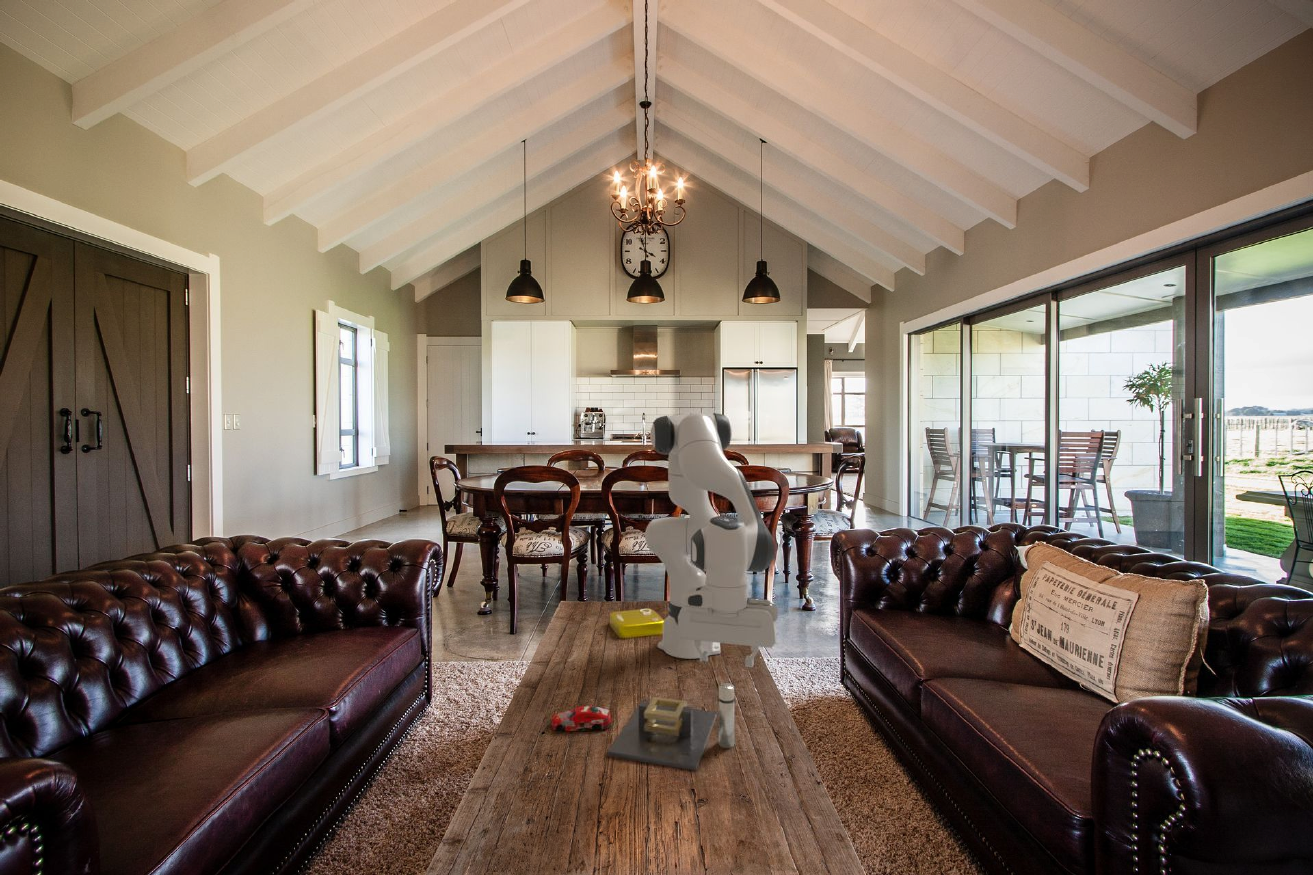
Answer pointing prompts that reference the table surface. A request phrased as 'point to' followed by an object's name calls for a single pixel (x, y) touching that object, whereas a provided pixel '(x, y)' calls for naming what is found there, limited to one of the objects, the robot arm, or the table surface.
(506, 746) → the table surface
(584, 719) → the race car
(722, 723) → the metal tube
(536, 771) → the table surface
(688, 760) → the collar stand
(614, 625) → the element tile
